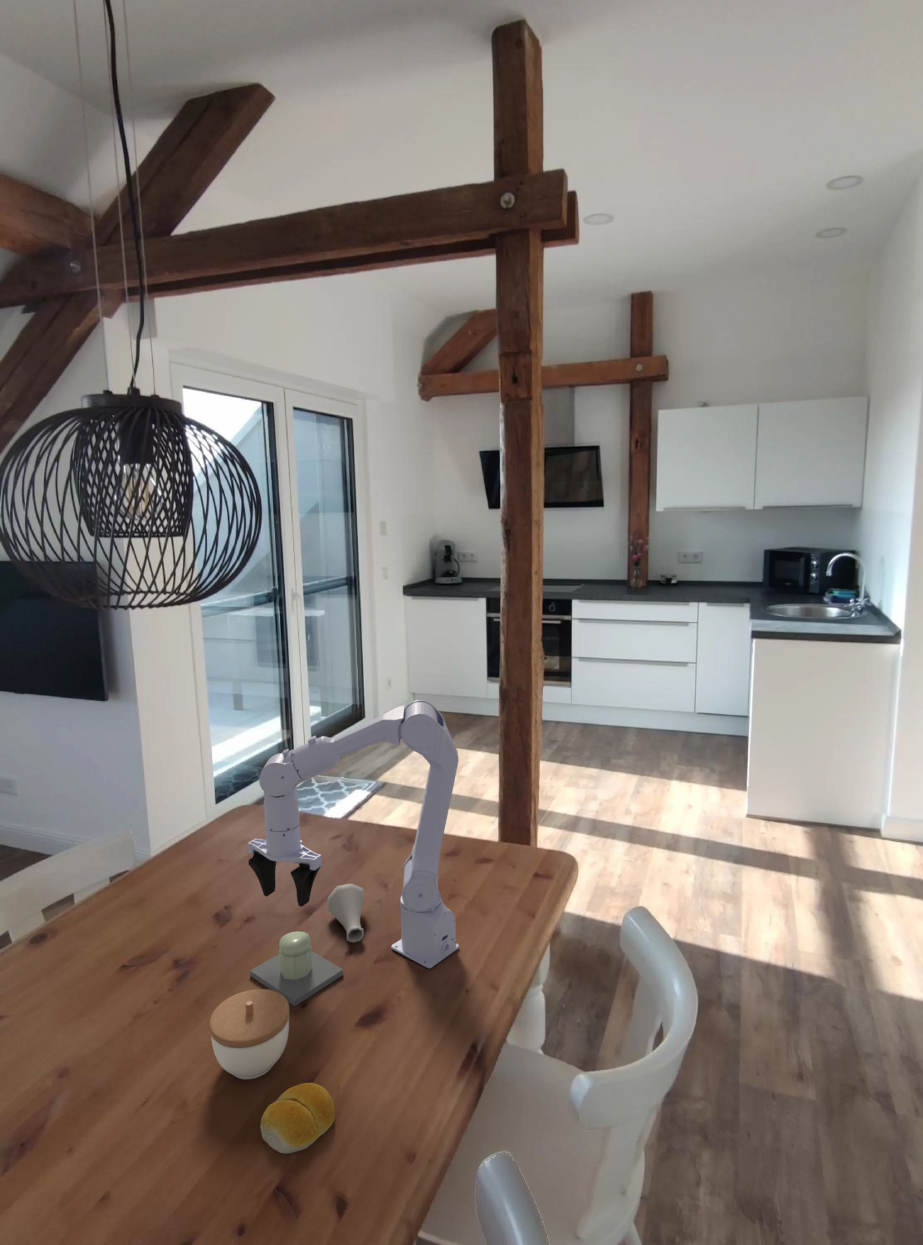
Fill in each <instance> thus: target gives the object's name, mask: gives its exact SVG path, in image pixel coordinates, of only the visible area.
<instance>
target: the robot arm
mask: <svg viewBox="0 0 923 1245" xmlns="http://www.w3.org/2000/svg"><path fill="white" fill-rule="evenodd" d="M401 739H402V742H403V743H404V745H405V746H407V748H408V749H410V750H412V751H413V752H415V753H417V754H419V755H420V756H422V758H424V759H425V760H426V761H427V763H428V764H429V768H428V773H427V774H428V775H427V778H426V783H425V788H424V793H423V799H422V804H421V808H420V814H419V819H418V825H417V830H416V834H415V840H414V843H413V846H412V848H411V853H410V854H409V856H408V858H407V859H406V860H405V862H404V864H403V866H402V874H403V882H402V883H403V884H402V885H403V886H402V891H401V896H400V927H401V928H400V932H401V934H400V935H401V938H400V939H399V940H398V941H396V942H394V943H392V945H391V946H390V947H391V948H390V949H391V950H393V951H395V952H397V953H399V954H401V955H403V956H404V957H406V958H408V959H410V960H412V961H413V962H416V963H418V964H419V965H421V966H423V967H425V968H427V969H432V968H434V967H435V965H437V964H439V963H440V962H441V961H443V960H444V959H446V958H447V957H449V956H450V955H452V953H454V952H455V951H457V950H458V949H459V948H460V945H459V943H457V927H456V924H457V922H456V920H457V918H456V915H455V913H454V912H453V911H452V910H451V909H449V908H448V907H447V906H446V905H445V903H444V901H443V899H442V894H441V892H440V890H439V883H438V882H439V880H438V876H439V875H438V874H439V862H440V854H441V849H442V844H443V839H444V834H445V828H446V825H447V819H448V814H449V809H450V804H451V799H452V796H453V790H454V786H455V781H456V775H457V770H458V765H459V753H458V750H457V746H456V745H455V742H454V740H453V738H452V735H451V732H450V731H449V728H448V726H447V724H446V721H445V718H444V715H443V714H442V713H441V712H440V711H439V710H438V709H437V708H436V706H434V704H432V703H431V702H430V701H426V700H422V699H418V700H413V701H411V702H410V703H408V704H406V706H405V705H404V704H403V705H400V706H396V707H395V708H393V709H391V710H389V711H387V712H385V713H382V714H381V715H379V716H376V717H375V718H373V719H371V720H368V721H366V722H365V723H363V724H361V725H360V726H357V727H355V728H353V729H350V730H349V731H347V732H345V733H343V734H341V735H338V736H337V737H335V738H332V737H328V736H325V735H322V736H320V737H317V736H316V735H313V736H311V737H309V738H308V740H307V742H306V743H304V744H303V745H299V746H298V747H296V748H293V749H291V750H290V749H289V748H287V749H284V750H283V751H282V752H281V753H276V754H274V755H272V756H271V757H269V759H268V760H267V762H266V763H265V765H264V766H263V767H262V770H261V772H260V775H259V778H258V779H259V780H258V781H259V782H258V783H259V786H260V788H261V790H262V791H263V798H264V800H263V810H264V828H265V839H261V838H253V839H252V840H251V841H249V842H247V845H248V846H247V849H248V852H247V853H248V854H250V855H252V857H251V858H249V859H248V860H247V861H248V862H247V863H248V865H249V867H251V869H252V871H253V872H254V874H255V876H256V877H257V879H258V881H259V885H260V888H261V891H262V892H263V896H264V897H269V896H270V895H272V894H273V893H275V891H276V886H277V885H276V884H277V883H276V870H277V869H276V868H277V862H282V863H285V862H287V863H293V864H298V866H297V867H296V868H294V869H292V870H291V871H290V875H291V877H292V880H293V882H294V885H295V889H296V901H297V905H298V907H305V905H307V904H308V903H309V902H310V899H311V898H310V897H311V893H312V888H313V885H314V882H315V879H316V876H317V875H318V873H319V871H320V869H321V867H322V854H319V853H316V852H315V851H312V850H310V849H309V848H308V847H306V846H304V845H303V840H301V826H300V825H301V824H300V810H299V809H300V808H299V807H300V806H299V804H300V803H299V796H298V788H297V787H298V784H300V783H304V782H307V781H308V780H310V779H312V778H315V777H318V776H320V775H323V774H324V773H326V772H329V771H331V770H333V769H335V768H336V767H338V765H339V763H340V759H341V758H343V757H344V756H347V755H351V754H353V753H355V752H357V751H360V750H363V749H365V748H367V747H370V746H372V745H375V744H377V743H380V742H383V741H384V742H386V743H389V744H392V745H394V746H401Z"/></svg>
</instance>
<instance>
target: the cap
mask: <svg viewBox="0 0 923 1245" xmlns="http://www.w3.org/2000/svg"><path fill="white" fill-rule="evenodd" d="M278 943H279V946H278V947H279V951H278V954H280V971H281V974H282V976H283V977H284V979H291V980H297V979H300V978H303V977H306V976H307V975H308V974H309V972H310V971H311V970H312V956H311V951H312V946H311V936H310V934H309V933H307V932H305V931H292V932H288V933H286V934H284V935H283V936H281V937H280V939H279V942H278Z"/></svg>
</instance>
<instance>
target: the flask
mask: <svg viewBox="0 0 923 1245" xmlns="http://www.w3.org/2000/svg"><path fill="white" fill-rule="evenodd" d="M363 904H364V888H363V887H360V886H358V885H356V884H355V883H354V884H353V883H347V884H342V885H337V886H336V885H335V888H334V889H333V890H332V892H331V893H330V894H329V895H328V897H327V911H328V912H329V913H330V914H331V915H333V917H335V919H336V920H337V921H338V922H339V923H340V924H341V925H342V926H343V929H344V930H345V932H346V941H348V942H350V943H353V944H354V943H357V942H361V940H362V939H363V938H364V936H365V934H364V933H365V932H364V928H362V925H361V914H362V909H363Z"/></svg>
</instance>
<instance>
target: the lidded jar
mask: <svg viewBox="0 0 923 1245" xmlns="http://www.w3.org/2000/svg"><path fill="white" fill-rule="evenodd" d="M289 1029H290V1003H289V1002H288V1001H287V1000H286V998H285V997H284V996H283V995H281V994H280V993H278V992H275V991H272V990H270V989H269V988H268V989H267V988H266V989H265V988H255V989H248V990H245V991H241V992H238V993H236V994H234V995H232V996H229V997H228V998H226V999H224V1001H222V1002H221V1003H220V1004H219V1005H217V1007H216V1008H215V1009H214V1011H213V1012H212V1014H211V1016H210V1018H209V1032H210V1035H211V1036H210V1037H211V1038H210V1039H211V1045H212V1049H213V1053H214V1056H215V1058H216V1060H217V1062H218V1064H219V1066H221V1067H222V1069H223V1070H224V1071H226V1072H227V1073H229V1074H231V1075H232V1076H233V1077H234V1078H237V1079H240V1080H244V1081H245V1080H254V1079H257V1078H260V1077H262V1076H264V1075H265V1074H266V1073H268V1072H269V1071H270V1070H271V1069H272V1068H273V1067H274V1065H276V1063H277V1062H278V1060H280V1058H281V1057H282V1054H283V1053H284V1051H285V1048H286V1046H287V1043H288V1038H289V1032H290V1030H289Z"/></svg>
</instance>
